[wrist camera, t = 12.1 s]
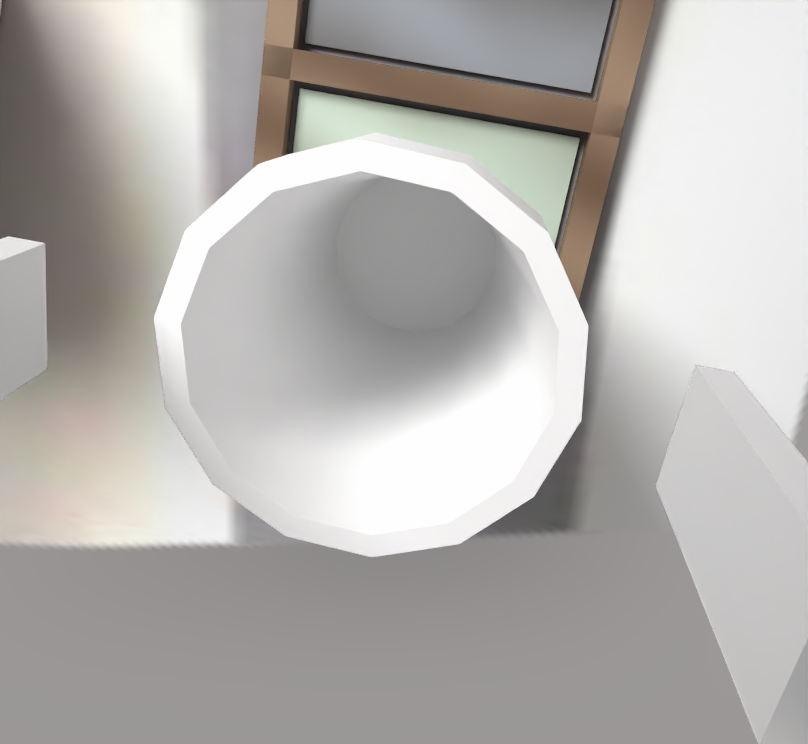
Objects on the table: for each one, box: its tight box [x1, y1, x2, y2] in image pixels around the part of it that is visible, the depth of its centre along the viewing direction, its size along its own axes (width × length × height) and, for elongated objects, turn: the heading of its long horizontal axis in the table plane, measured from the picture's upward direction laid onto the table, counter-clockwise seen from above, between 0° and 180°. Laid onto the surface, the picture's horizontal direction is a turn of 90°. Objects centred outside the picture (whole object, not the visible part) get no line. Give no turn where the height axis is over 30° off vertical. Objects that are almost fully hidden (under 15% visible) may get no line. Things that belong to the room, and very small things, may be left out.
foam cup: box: [154, 133, 588, 557], centre depth 23 cm, size 10×9×13 cm
